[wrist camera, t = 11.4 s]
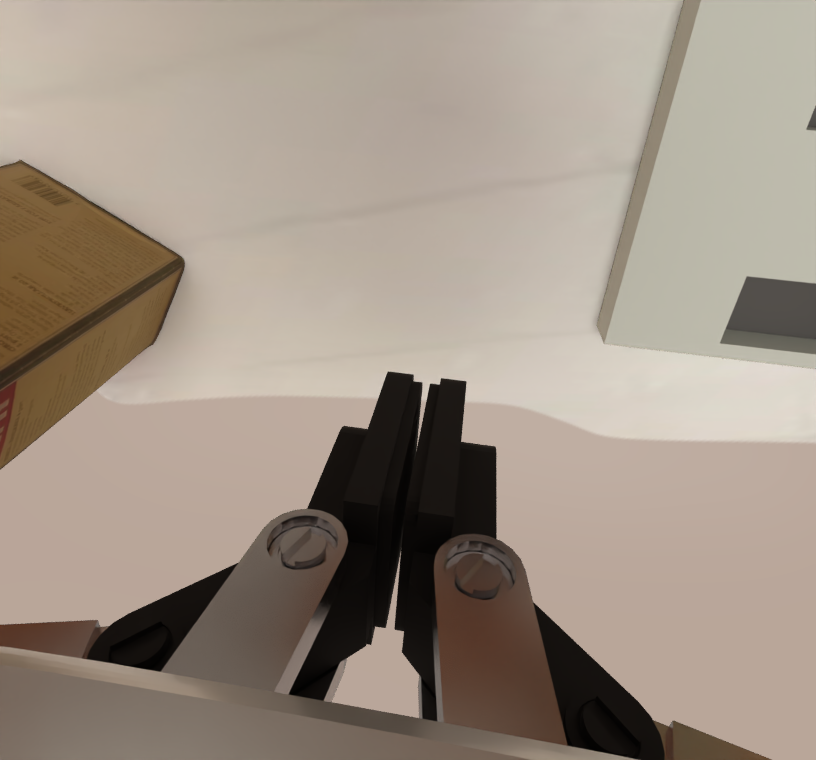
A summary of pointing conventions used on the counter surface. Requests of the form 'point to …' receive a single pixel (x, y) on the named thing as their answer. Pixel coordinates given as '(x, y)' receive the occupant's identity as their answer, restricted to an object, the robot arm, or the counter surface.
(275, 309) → the counter surface
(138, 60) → the counter surface
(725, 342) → the board
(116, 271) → the food packaging
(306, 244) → the counter surface
